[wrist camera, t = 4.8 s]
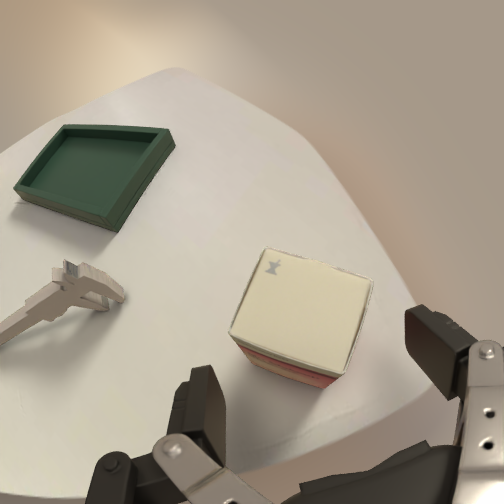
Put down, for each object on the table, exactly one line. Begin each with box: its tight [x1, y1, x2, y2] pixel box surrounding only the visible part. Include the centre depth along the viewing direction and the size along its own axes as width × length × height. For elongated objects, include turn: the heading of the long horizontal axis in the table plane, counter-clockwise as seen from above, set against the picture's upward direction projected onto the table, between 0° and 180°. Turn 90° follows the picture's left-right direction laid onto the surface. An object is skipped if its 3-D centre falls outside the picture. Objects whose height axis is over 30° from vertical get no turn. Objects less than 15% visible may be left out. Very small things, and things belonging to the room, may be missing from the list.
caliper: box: [0, 260, 125, 346], centre depth 19 cm, size 20×1×6 cm, turn 110°
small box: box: [228, 246, 374, 388], centre depth 16 cm, size 5×4×8 cm
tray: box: [13, 124, 176, 232], centre depth 29 cm, size 18×11×2 cm, turn 68°
